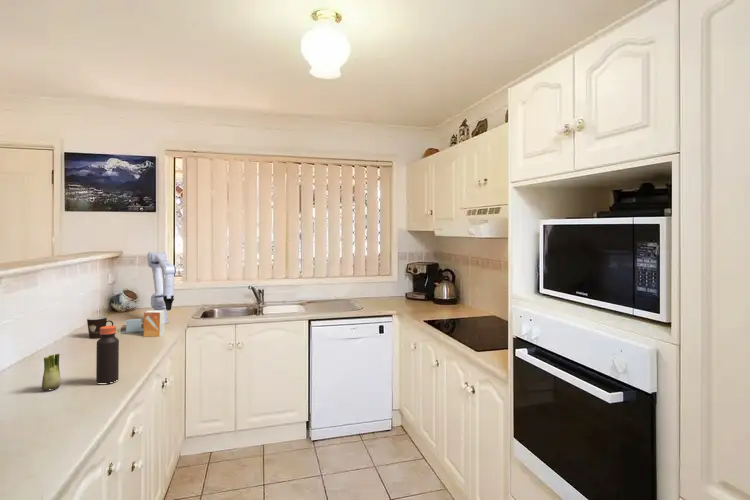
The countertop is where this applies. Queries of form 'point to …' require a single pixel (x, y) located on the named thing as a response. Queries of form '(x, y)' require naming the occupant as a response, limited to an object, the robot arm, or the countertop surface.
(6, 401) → the countertop surface
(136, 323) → the painted block
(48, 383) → the fennel bulb
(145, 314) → the small box
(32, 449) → the countertop surface
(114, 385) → the countertop surface
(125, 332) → the rubber mat
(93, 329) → the coffee mug
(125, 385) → the countertop surface
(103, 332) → the bottle
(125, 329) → the walnut frame
